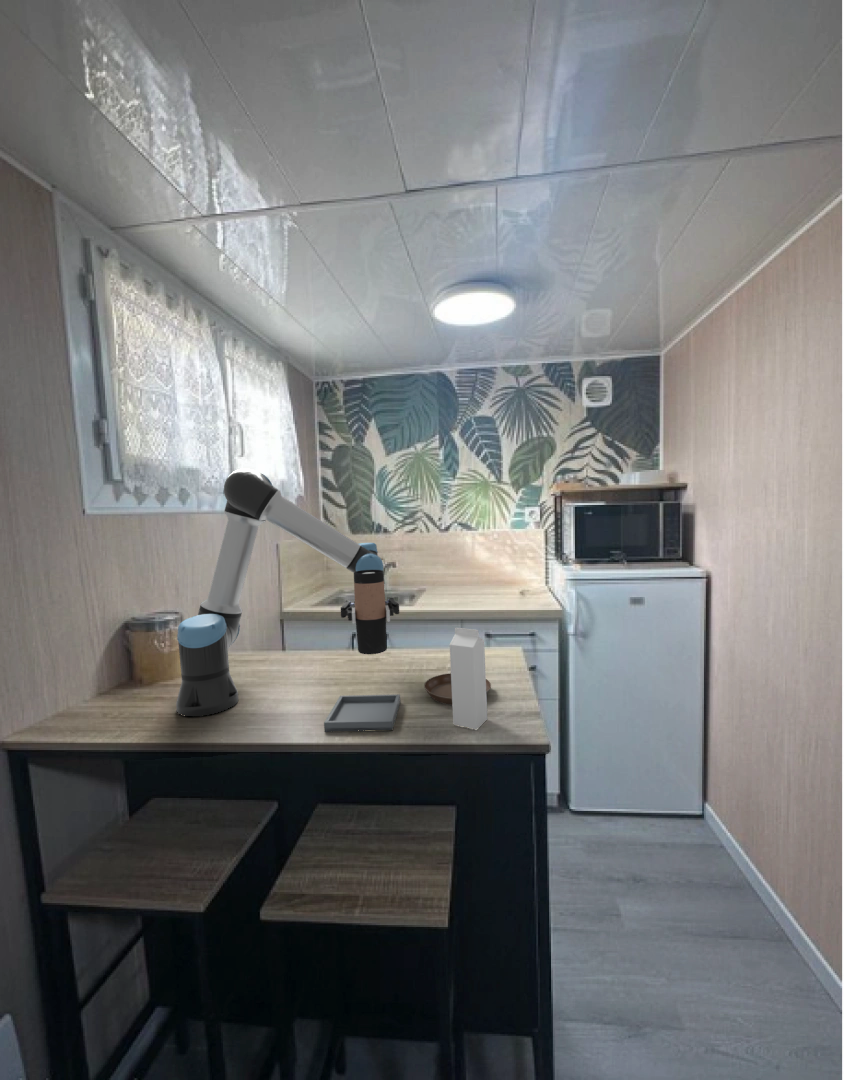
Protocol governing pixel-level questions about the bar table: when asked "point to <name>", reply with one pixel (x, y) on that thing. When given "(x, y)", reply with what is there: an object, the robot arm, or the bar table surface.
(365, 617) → the travel mug
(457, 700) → the milk
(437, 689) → the plant saucer
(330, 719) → the tray
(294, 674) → the bar table surface
